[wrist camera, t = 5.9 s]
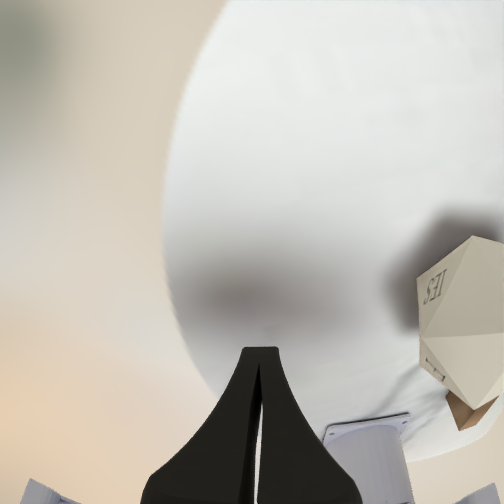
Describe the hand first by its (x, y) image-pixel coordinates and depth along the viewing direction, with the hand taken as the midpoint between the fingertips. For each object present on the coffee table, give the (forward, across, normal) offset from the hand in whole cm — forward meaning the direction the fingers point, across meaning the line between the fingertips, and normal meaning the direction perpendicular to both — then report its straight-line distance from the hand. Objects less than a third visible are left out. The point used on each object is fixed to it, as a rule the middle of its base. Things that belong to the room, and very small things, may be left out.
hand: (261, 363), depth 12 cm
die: (+5, -12, 0) cm, 13 cm away
